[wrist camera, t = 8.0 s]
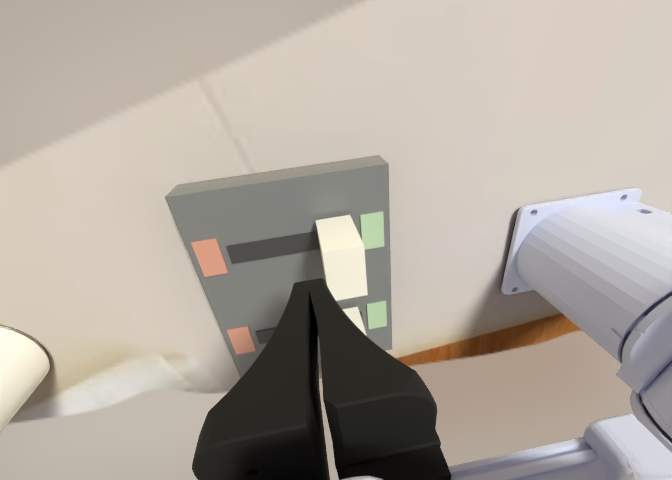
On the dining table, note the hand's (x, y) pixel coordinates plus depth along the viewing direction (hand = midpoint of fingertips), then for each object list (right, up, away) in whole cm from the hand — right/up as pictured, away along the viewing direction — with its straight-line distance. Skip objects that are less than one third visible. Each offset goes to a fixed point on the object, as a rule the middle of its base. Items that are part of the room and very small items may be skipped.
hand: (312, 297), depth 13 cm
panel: (-1, 0, +8) cm, 8 cm away
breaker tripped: (+1, +3, +4) cm, 5 cm away
